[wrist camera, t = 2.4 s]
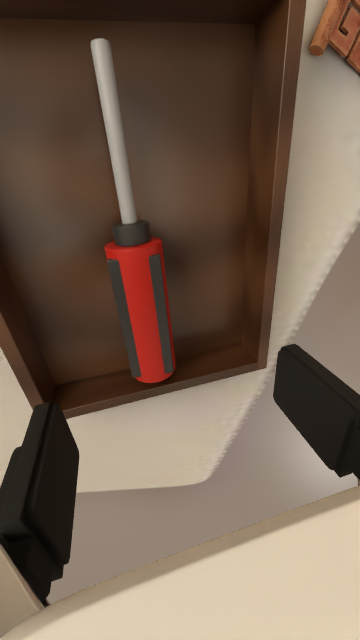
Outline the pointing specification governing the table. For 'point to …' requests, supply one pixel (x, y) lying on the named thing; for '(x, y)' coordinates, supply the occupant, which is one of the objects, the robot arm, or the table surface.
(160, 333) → the screwdriver
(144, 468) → the table surface
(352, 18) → the key
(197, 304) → the wooden tray
